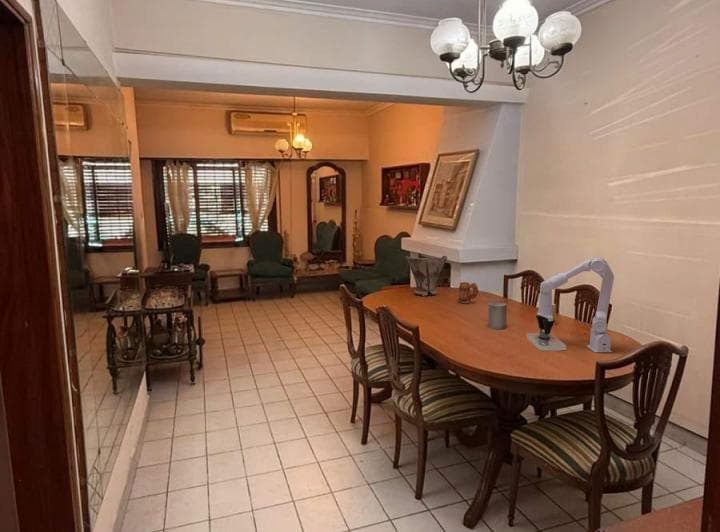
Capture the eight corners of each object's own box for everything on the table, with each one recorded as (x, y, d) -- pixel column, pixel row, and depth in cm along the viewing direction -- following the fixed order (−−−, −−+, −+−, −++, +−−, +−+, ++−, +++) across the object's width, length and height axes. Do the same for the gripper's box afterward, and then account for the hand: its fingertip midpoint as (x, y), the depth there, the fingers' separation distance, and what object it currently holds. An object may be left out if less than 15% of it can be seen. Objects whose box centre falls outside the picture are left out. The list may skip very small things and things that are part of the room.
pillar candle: (500, 324, 262) (501, 298, 260) (509, 328, 252) (510, 302, 250) (485, 325, 260) (485, 300, 258) (493, 330, 250) (494, 303, 248)
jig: (565, 350, 216) (566, 345, 215) (540, 350, 216) (540, 345, 216) (549, 337, 236) (550, 332, 235) (526, 337, 236) (526, 333, 236)
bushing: (550, 343, 226) (550, 330, 225) (541, 344, 226) (542, 330, 225) (546, 341, 230) (547, 327, 229) (538, 341, 230) (538, 327, 229)
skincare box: (545, 326, 256) (546, 305, 254) (540, 324, 260) (541, 303, 258) (555, 325, 258) (556, 304, 256) (550, 323, 262) (551, 302, 260)
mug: (455, 302, 315) (455, 281, 313) (462, 300, 321) (462, 280, 318) (473, 306, 305) (473, 284, 302) (480, 304, 310) (480, 282, 308)
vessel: (450, 292, 349) (450, 254, 345) (441, 299, 325) (441, 258, 321) (413, 290, 361) (413, 252, 357) (402, 296, 337) (402, 257, 333)
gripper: (532, 301, 232) (531, 327, 234) (542, 308, 218) (541, 335, 220) (546, 301, 232) (545, 327, 234) (557, 308, 218) (556, 335, 220)
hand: (544, 331), depth 227 cm, fingers open, 7 cm apart
